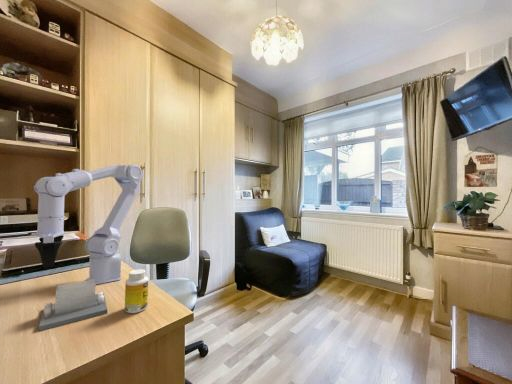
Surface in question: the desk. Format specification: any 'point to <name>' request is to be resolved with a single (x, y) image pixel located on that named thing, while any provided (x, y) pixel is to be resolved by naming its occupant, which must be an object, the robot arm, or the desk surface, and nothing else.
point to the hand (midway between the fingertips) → (49, 263)
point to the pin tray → (71, 313)
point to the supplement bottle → (136, 291)
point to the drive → (75, 296)
